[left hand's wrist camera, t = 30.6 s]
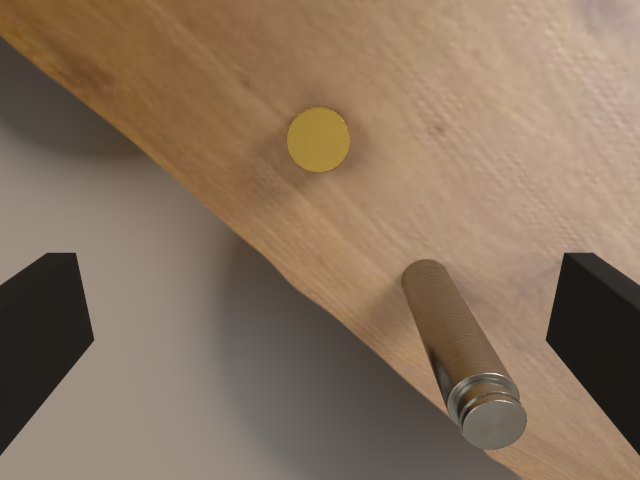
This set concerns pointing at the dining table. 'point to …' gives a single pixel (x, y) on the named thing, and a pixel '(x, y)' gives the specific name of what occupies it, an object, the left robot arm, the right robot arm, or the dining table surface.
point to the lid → (318, 139)
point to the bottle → (463, 360)
